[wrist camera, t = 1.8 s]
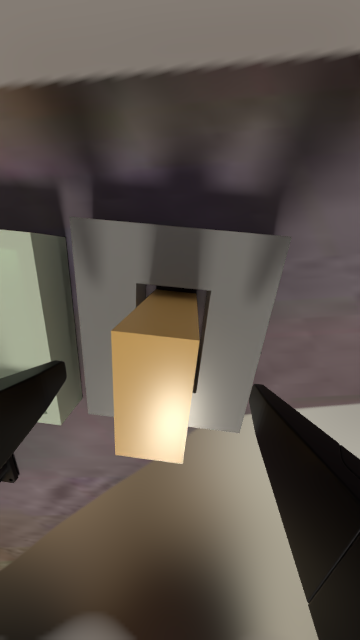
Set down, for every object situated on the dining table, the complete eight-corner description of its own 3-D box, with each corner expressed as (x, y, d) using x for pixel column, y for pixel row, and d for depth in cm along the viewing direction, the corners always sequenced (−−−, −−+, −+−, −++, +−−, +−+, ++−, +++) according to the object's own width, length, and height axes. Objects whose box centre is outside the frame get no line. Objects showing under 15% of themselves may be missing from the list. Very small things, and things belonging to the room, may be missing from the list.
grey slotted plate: (233, 408, 17) (239, 433, 15) (102, 392, 17) (88, 413, 15) (272, 240, 12) (291, 236, 10) (92, 223, 13) (69, 216, 10)
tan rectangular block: (187, 363, 16) (182, 464, 8) (152, 359, 16) (115, 454, 8) (196, 293, 14) (199, 340, 6) (156, 289, 14) (111, 330, 6)
